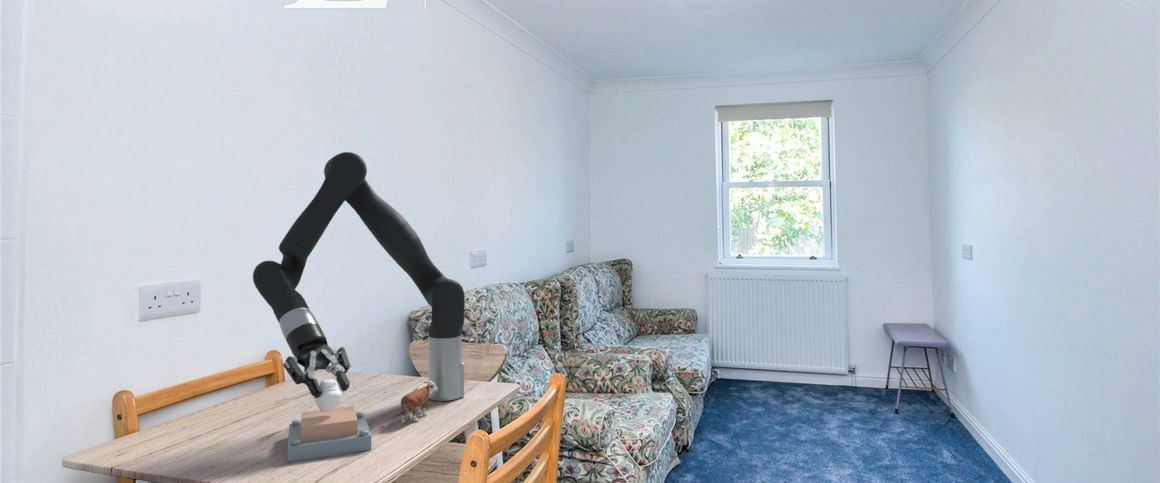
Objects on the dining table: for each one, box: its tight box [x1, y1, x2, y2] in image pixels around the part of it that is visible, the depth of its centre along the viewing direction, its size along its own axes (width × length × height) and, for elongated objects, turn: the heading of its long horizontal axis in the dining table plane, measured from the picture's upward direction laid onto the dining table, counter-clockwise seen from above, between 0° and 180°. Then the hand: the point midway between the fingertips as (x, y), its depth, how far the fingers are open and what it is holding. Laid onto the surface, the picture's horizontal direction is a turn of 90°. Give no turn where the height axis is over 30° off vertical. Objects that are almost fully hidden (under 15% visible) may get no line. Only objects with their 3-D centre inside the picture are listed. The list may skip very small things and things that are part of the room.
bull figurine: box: [400, 380, 438, 424], centre depth 147 cm, size 4×13×8 cm, turn 161°
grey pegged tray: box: [287, 405, 372, 463], centre depth 129 cm, size 16×16×6 cm
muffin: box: [312, 378, 344, 412], centre depth 129 cm, size 6×6×7 cm
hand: (333, 392), depth 128 cm, fingers closed on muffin, 6 cm apart
